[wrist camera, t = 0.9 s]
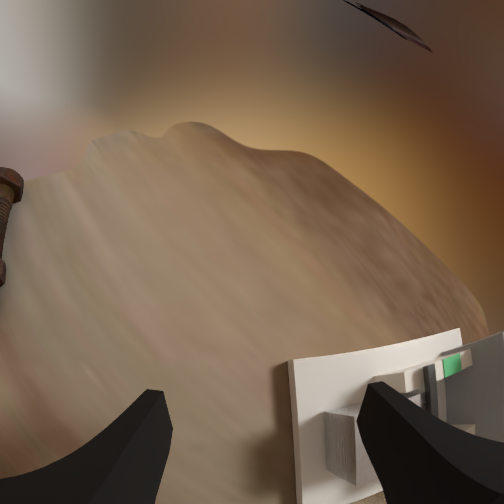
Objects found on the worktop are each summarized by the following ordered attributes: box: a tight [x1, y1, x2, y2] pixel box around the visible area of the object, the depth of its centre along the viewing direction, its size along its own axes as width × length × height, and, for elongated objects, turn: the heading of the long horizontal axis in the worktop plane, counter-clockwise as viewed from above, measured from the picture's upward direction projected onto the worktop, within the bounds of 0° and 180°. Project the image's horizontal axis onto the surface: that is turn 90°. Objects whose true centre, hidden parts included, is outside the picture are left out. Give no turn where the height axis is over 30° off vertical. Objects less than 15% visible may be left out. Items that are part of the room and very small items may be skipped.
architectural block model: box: [287, 328, 504, 504], centre depth 15 cm, size 20×14×10 cm
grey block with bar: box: [324, 363, 439, 486], centre depth 15 cm, size 8×9×5 cm
